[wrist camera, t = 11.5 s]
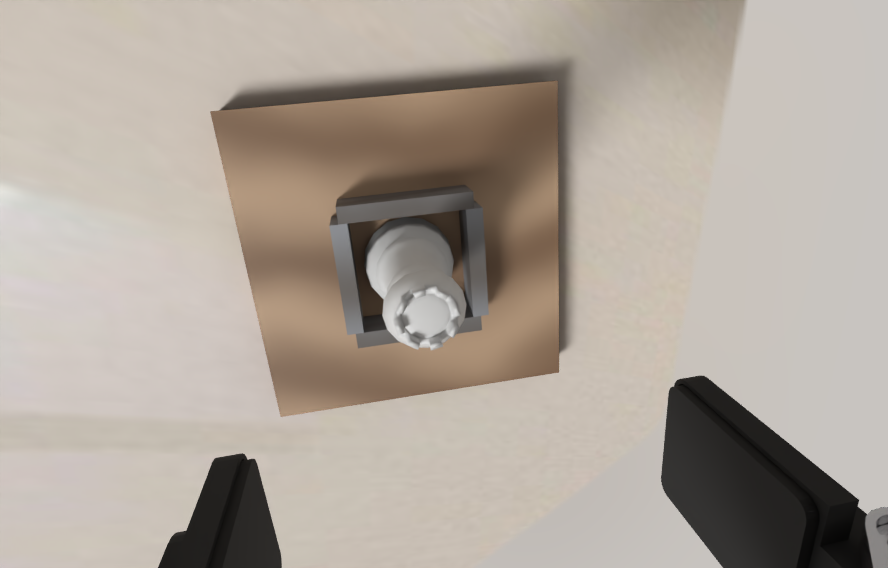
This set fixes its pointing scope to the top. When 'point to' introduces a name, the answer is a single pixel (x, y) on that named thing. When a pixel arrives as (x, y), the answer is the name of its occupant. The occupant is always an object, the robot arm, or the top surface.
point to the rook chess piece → (415, 282)
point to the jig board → (386, 199)
